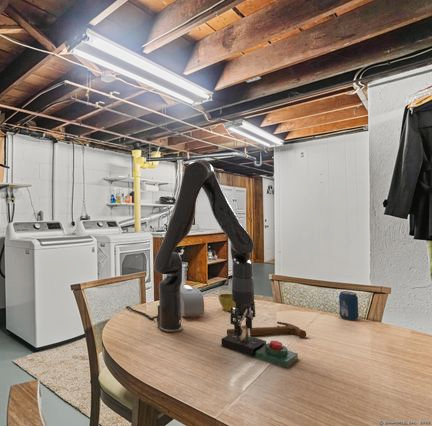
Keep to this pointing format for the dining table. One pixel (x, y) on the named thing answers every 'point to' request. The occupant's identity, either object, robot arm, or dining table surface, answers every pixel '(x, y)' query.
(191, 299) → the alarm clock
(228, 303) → the flower pot
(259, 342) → the panel
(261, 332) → the hammer
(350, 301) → the soda can
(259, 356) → the switchbox
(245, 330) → the dial
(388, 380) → the dining table surface
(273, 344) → the button
